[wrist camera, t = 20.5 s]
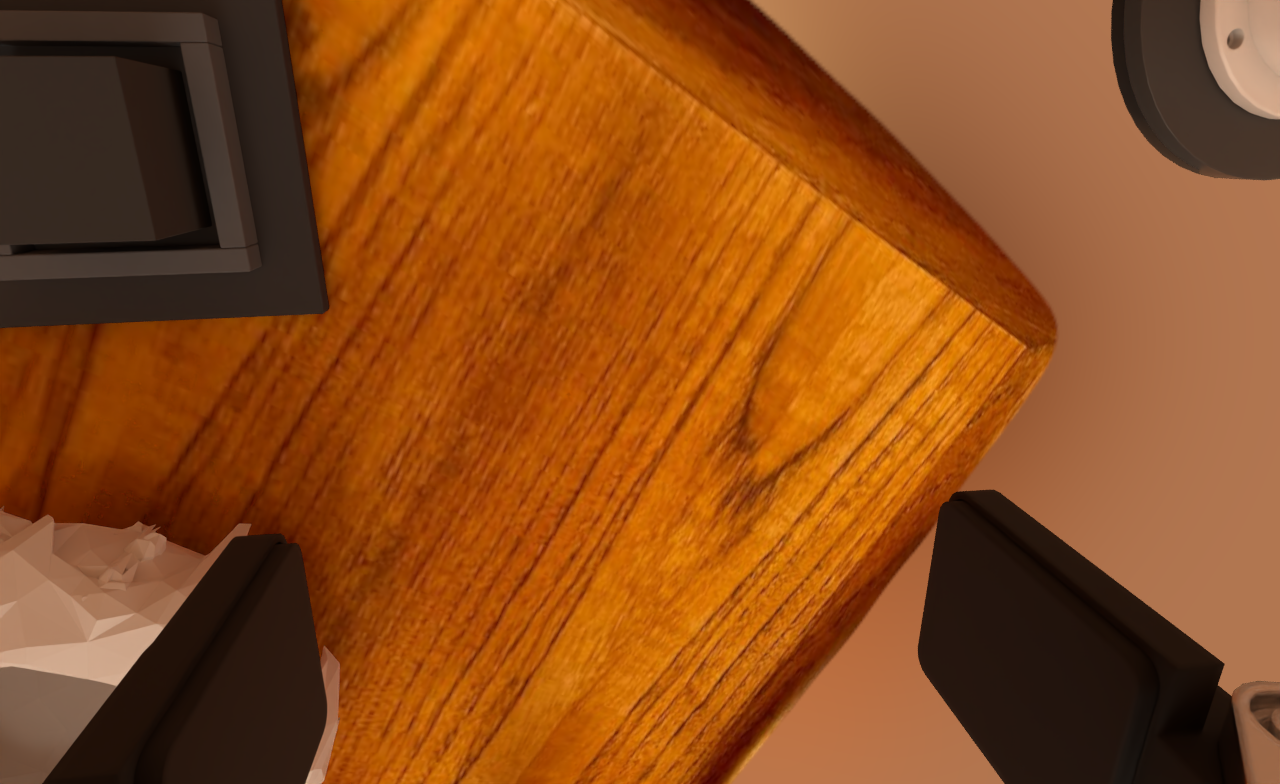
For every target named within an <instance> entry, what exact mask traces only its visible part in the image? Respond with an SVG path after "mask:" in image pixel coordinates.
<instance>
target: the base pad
mask: <svg viewBox="0 0 1280 784" xmlns="http://www.w3.org/2000/svg"><path fill="white" fill-rule="evenodd" d="M0 56H116V57H120V58H125V59H129V60H134V61H138V62H143V63H147V64H152V65H156V66H161V67H165V68H170V69H175V70H179V71H181V73H182V78H183V83H184V88H185V93H186V98H187V103H188V108H189V113H190V118H191V123H192V128H193V133H194V138H195V143H196V148H197V153H198V158H199V163H200V168H201V173H202V178H203V183H204V188H205V193H206V198H207V203H208V208H209V213H210V218H211V223H212V226H210V227H206V228H202V229H199V230H195V231H191V232H187V233H183V234H179V235H175V236H171V237H167V238H164V239H160V240H156V241H124V242H90V243H56V244H22V245H0V328H8V327H31V326H54V325H76V324H99V323H122V322H144V321H167V320H189V319H212V318H235V317H257V316H280V315H303V314H323V313H325V312H326V311H327V310H328V309H329V304H328V298H327V291H326V285H325V278H324V272H323V265H322V259H321V252H320V246H319V239H318V233H317V226H316V220H315V214H314V207H313V201H312V194H311V188H310V181H309V175H308V168H307V162H306V155H305V149H304V143H303V136H302V130H301V123H300V117H299V110H298V104H297V97H296V91H295V84H294V78H293V71H292V65H291V59H290V52H289V46H288V39H287V33H286V26H285V20H284V13H283V7H282V0H0Z"/></svg>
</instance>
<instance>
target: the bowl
mask: <svg viewBox="0 0 1280 784" xmlns="http://www.w3.org/2000/svg"><path fill="white" fill-rule="evenodd" d="M3 511H4V506H3V507H2V508H1V509H0V784H42V783H43V782H44V780H45V779H46V778H47V776H48V775H49V774H50V773H51V771H52V770H53V769H54V767H55V766H56V765H57V763H58V762H59V761H60V760H61V758H62V757H63V756H64V754H65V753H66V752H67V750H68V749H69V748H70V747H71V745H72V744H73V743H74V741H75V740H76V739H77V737H78V736H79V735H80V734H81V732H82V731H83V730H84V728H85V727H86V726H87V724H88V723H89V722H90V721H91V719H92V718H93V717H94V715H95V714H96V713H97V711H98V710H99V709H100V708H101V706H102V705H103V704H104V702H105V701H106V700H107V698H108V697H109V696H110V695H111V693H112V692H113V691H114V689H115V688H116V687H117V685H118V684H119V683H120V682H121V680H122V679H123V678H124V676H125V675H126V674H127V672H128V671H129V670H130V669H131V667H132V666H133V665H134V663H135V662H136V661H137V659H138V658H139V657H140V656H141V654H142V653H143V652H144V651H145V650H146V649H147V648H148V647H149V646H150V645H151V644H152V643H153V642H154V640H155V639H156V638H157V636H158V635H159V634H160V632H161V631H162V630H163V629H164V627H165V626H166V625H167V623H168V622H169V621H170V619H171V618H172V617H173V615H174V614H175V613H176V612H177V610H178V609H179V608H180V606H181V605H182V604H183V602H184V601H185V600H186V598H187V597H188V596H189V595H190V593H191V592H192V591H193V589H194V588H195V587H196V585H197V584H198V583H199V581H200V580H201V579H202V578H203V576H204V575H205V574H206V572H207V571H208V570H209V568H210V567H211V566H212V564H213V563H214V562H215V561H216V559H217V558H218V557H219V555H220V554H221V553H222V551H223V550H224V549H225V547H226V546H227V545H228V544H229V542H230V541H231V540H232V539H233V538H234V537H236V536H247V534H248V532H249V529H250V526H251V524H238V525H237V526H236V527H235V528H234V529H233V530H232V531H231V532H230V533H229V534H228V535H227V536H226V537H225V538H224V539H223V540H222V541H221V542H220V543H219V544H218V545H217V546H216V547H215V548H214V549H213V550H212V551H211V552H210V553H209V554H207V555H202V554H200V553H197V552H195V551H192V550H190V549H187V548H185V547H182V546H179V545H177V544H174V543H172V542H169V541H167V540H166V537H164V536H163V535H161V534H158V533H156V532H155V531H157V530H158V529H159V528H160V527H159V528H156V529H154V530H152V529H153V528H154V527H155V525H156V524H155V525H152V526H146V525H144V524H142V523H141V522H139V521H138V522H137V523H136V524H134V525H133V526H131V527H128V528H125V529H116V528H110V527H104V526H98V525H92V524H85V523H54V519H53V517H51V516H50V515H46V516H44V517H43V518H41V519H40V520H38V521H37V522H35V523H32V522H31V521H29V520H26V519H23V518H20V517H17V516H14V515H11V514H8V513H5V512H3ZM320 662H321V668H322V674H323V680H324V686H325V692H326V697H327V721H326V726H325V730H324V733H323V736H322V739H321V741H320V744H319V747H318V750H317V752H316V755H315V758H314V761H313V764H312V766H311V769H310V772H309V775H308V777H307V780H306V783H305V784H321V783H322V782H323V781H324V779H325V775H326V771H327V767H328V763H329V759H330V755H331V751H332V747H333V743H334V739H335V735H336V732H337V728H338V723H339V719H340V718H339V719H338V702H339V676H340V663H339V662H338V661H337V660H336V658H335V657H334V656H333V655H332V654H331V653H330V651H329V650H328V649H327V648H326V647H325V646H324V647H323V651H322V656H321V660H320Z"/></svg>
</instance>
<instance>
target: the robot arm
mask: <svg viewBox="0 0 1280 784" xmlns="http://www.w3.org/2000/svg"><path fill="white" fill-rule="evenodd" d="M1200 28H1201V38H1202V46H1203V49H1204V52H1205V56H1206V59H1207V62H1208V66H1209V69H1210V70H1211V72H1212V74H1213V76H1214V78H1215V80H1216V81H1217V83H1218V85H1219V87H1220V88H1221V89H1222V90H1223V91H1224V92H1225V94H1226V95H1227V96H1228V97H1229V98H1230V99H1231V100H1232V101H1233V102H1234V103H1235V104H1237V105H1238V106H1240V107H1242V108H1243V109H1245V110H1246V111H1248V112H1249V113H1252V114H1255V115H1258V116H1261V117H1264V118H1268V119H1280V0H1201V2H1200ZM918 657H919V661H920V665H921V667H922V670H923V671H924V673H925V675H926V676H927V678H928V679H929V680H930V682H931V683H932V684H933V686H934V687H935V689H936V690H937V691H938V693H939V694H940V695H941V697H942V698H943V699H944V701H945V702H946V704H947V705H948V706H949V708H950V709H951V711H952V712H953V713H954V715H955V716H956V717H957V719H958V720H959V721H960V723H961V724H962V726H963V727H964V728H965V730H966V731H967V732H968V734H969V735H970V737H971V738H972V739H973V741H974V742H975V744H976V745H977V746H978V747H979V749H980V750H981V752H982V753H983V754H984V756H985V757H986V759H987V760H988V761H989V763H990V764H991V766H992V767H993V768H994V770H995V771H996V772H997V774H998V775H999V777H1000V778H1001V779H1002V781H1003V782H1004V783H1005V784H1280V683H1279V682H1266V681H1265V682H1264V681H1256V682H1250V683H1245V684H1242V685H1241V686H1239V687H1238V688H1237V689H1235V690H1234V692H1233V695H1232V696H1231V695H1229V694H1228V693H1227V692H1226V691H1224V690H1223V689H1222V688H1221V687H1219V686H1218V682H1219V679H1220V676H1221V673H1222V670H1223V667H1224V663H1223V662H1221V661H1220V660H1219V659H1217V658H1216V657H1215V656H1214V655H1212V654H1211V653H1210V652H1208V651H1207V650H1206V649H1204V648H1203V647H1202V646H1200V645H1199V644H1198V643H1196V642H1195V641H1194V640H1193V639H1191V638H1190V637H1189V636H1187V635H1186V634H1184V633H1183V632H1182V631H1181V630H1179V629H1178V628H1177V627H1175V626H1174V625H1173V624H1172V623H1170V622H1169V621H1168V620H1166V619H1165V618H1164V617H1162V616H1161V615H1160V614H1158V613H1157V612H1156V611H1154V610H1153V609H1152V608H1151V607H1149V606H1148V605H1146V604H1145V603H1144V602H1143V601H1141V600H1140V599H1138V598H1137V597H1136V596H1135V595H1133V594H1132V593H1131V592H1129V591H1128V590H1127V589H1126V588H1124V587H1123V586H1122V585H1120V584H1119V583H1117V582H1116V581H1115V580H1114V579H1112V578H1111V577H1109V576H1108V575H1107V574H1106V573H1104V572H1103V571H1102V570H1101V569H1099V568H1098V567H1097V566H1095V565H1094V564H1093V563H1091V562H1090V561H1089V560H1087V559H1086V558H1085V557H1083V556H1082V555H1081V554H1080V553H1078V552H1077V551H1076V550H1074V549H1073V548H1072V547H1070V546H1069V545H1068V544H1066V543H1065V542H1064V541H1063V540H1061V539H1060V538H1059V537H1057V536H1056V535H1054V534H1053V533H1052V532H1051V531H1049V530H1048V529H1047V528H1045V527H1044V526H1043V525H1041V524H1040V523H1039V522H1037V521H1036V520H1035V519H1034V518H1032V517H1031V516H1030V515H1028V514H1027V513H1026V512H1024V511H1023V510H1022V509H1020V508H1019V507H1018V506H1016V505H1015V504H1014V503H1013V502H1011V501H1010V500H1009V499H1007V498H1006V497H1005V496H1003V495H1002V494H1001V493H999V492H997V491H995V490H979V491H962V492H956V493H954V494H953V495H952V496H951V498H950V499H949V502H945V503H943V504H942V506H941V507H940V511H939V516H938V523H937V529H936V536H935V542H934V549H933V555H932V561H931V567H930V573H929V580H928V587H927V593H926V599H925V606H924V612H923V618H922V624H921V631H920V637H919V644H918ZM326 721H327V697H326V692H325V686H324V680H323V674H322V668H321V662H320V657H319V651H318V645H317V639H316V633H315V627H314V622H313V616H312V610H311V604H310V598H309V593H308V587H307V581H306V575H305V569H304V563H303V558H302V553H301V549H300V547H299V545H298V544H297V543H290V544H287V541H286V539H285V537H284V536H283V535H282V534H265V535H249V536H236V537H234V538H233V539H232V540H231V541H230V542H229V544H228V545H227V546H226V547H225V549H224V550H223V551H222V553H221V554H220V555H219V557H218V558H217V559H216V561H215V562H214V563H213V564H212V566H211V567H210V568H209V570H208V571H207V572H206V574H205V575H204V576H203V578H202V579H201V580H200V581H199V583H198V584H197V585H196V587H195V588H194V589H193V591H192V592H191V593H190V595H189V596H188V597H187V598H186V600H185V601H184V602H183V604H182V605H181V606H180V608H179V609H178V610H177V612H176V613H175V614H174V615H173V617H172V618H171V619H170V621H169V622H168V623H167V625H166V626H165V627H164V629H163V630H162V631H161V632H160V634H159V635H158V636H157V638H156V639H155V640H154V642H153V643H152V644H151V645H150V646H149V647H148V648H147V649H146V650H145V651H144V652H143V653H142V654H141V656H140V657H139V658H138V659H137V661H136V662H135V663H134V665H133V666H132V667H131V669H130V670H129V671H128V672H127V674H126V675H125V676H124V678H123V679H122V680H121V682H120V683H119V684H118V685H117V687H116V688H115V689H114V691H113V692H112V693H111V695H110V696H109V697H108V698H107V700H106V701H105V702H104V704H103V705H102V706H101V708H100V709H99V710H98V711H97V713H96V714H95V715H94V717H93V718H92V719H91V721H90V722H89V723H88V724H87V726H86V727H85V728H84V730H83V731H82V732H81V734H80V735H79V736H78V737H77V739H76V740H75V741H74V743H73V744H72V745H71V747H70V748H69V749H68V750H67V752H66V753H65V754H64V756H63V757H62V758H61V760H60V761H59V762H58V763H57V765H56V766H55V767H54V769H53V770H52V771H51V773H50V774H49V775H48V776H47V778H46V779H45V780H44V782H43V783H42V784H305V783H306V780H307V777H308V775H309V772H310V769H311V766H312V764H313V761H314V758H315V755H316V752H317V750H318V747H319V744H320V741H321V739H322V736H323V733H324V730H325V726H326Z"/></svg>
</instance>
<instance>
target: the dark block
mask: <svg viewBox="0 0 1280 784" xmlns="http://www.w3.org/2000/svg"><path fill="white" fill-rule="evenodd" d="M210 226H212V223H211V218H210V213H209V208H208V203H207V198H206V193H205V188H204V183H203V178H202V173H201V168H200V163H199V158H198V153H197V148H196V143H195V138H194V133H193V128H192V123H191V118H190V113H189V108H188V103H187V98H186V93H185V88H184V83H183V78H182V73H181V71H179V70H175V69H170V68H165V67H161V66H156V65H152V64H147V63H143V62H138V61H134V60H129V59H125V58H120V57H116V56H0V245H22V244H56V243H90V242H124V241H156V240H160V239H164V238H167V237H171V236H175V235H179V234H183V233H187V232H191V231H195V230H199V229H202V228H206V227H210Z"/></svg>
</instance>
